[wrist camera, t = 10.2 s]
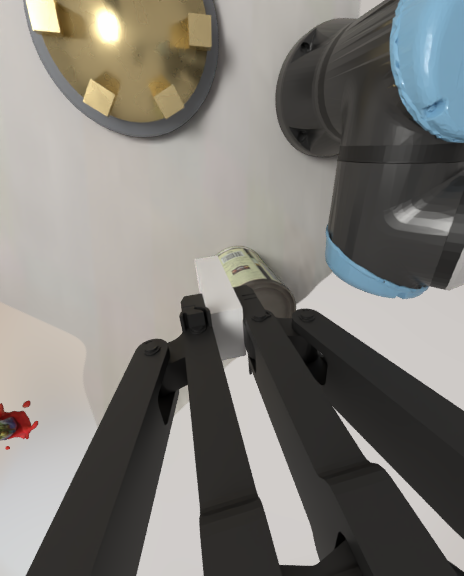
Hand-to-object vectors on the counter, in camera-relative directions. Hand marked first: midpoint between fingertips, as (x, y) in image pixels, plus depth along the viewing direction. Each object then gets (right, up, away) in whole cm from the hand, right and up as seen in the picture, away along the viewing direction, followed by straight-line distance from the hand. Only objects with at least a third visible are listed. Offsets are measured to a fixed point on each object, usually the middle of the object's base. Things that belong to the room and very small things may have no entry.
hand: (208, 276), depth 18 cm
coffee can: (+2, +2, +30) cm, 30 cm away
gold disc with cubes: (-10, +27, +12) cm, 31 cm away
